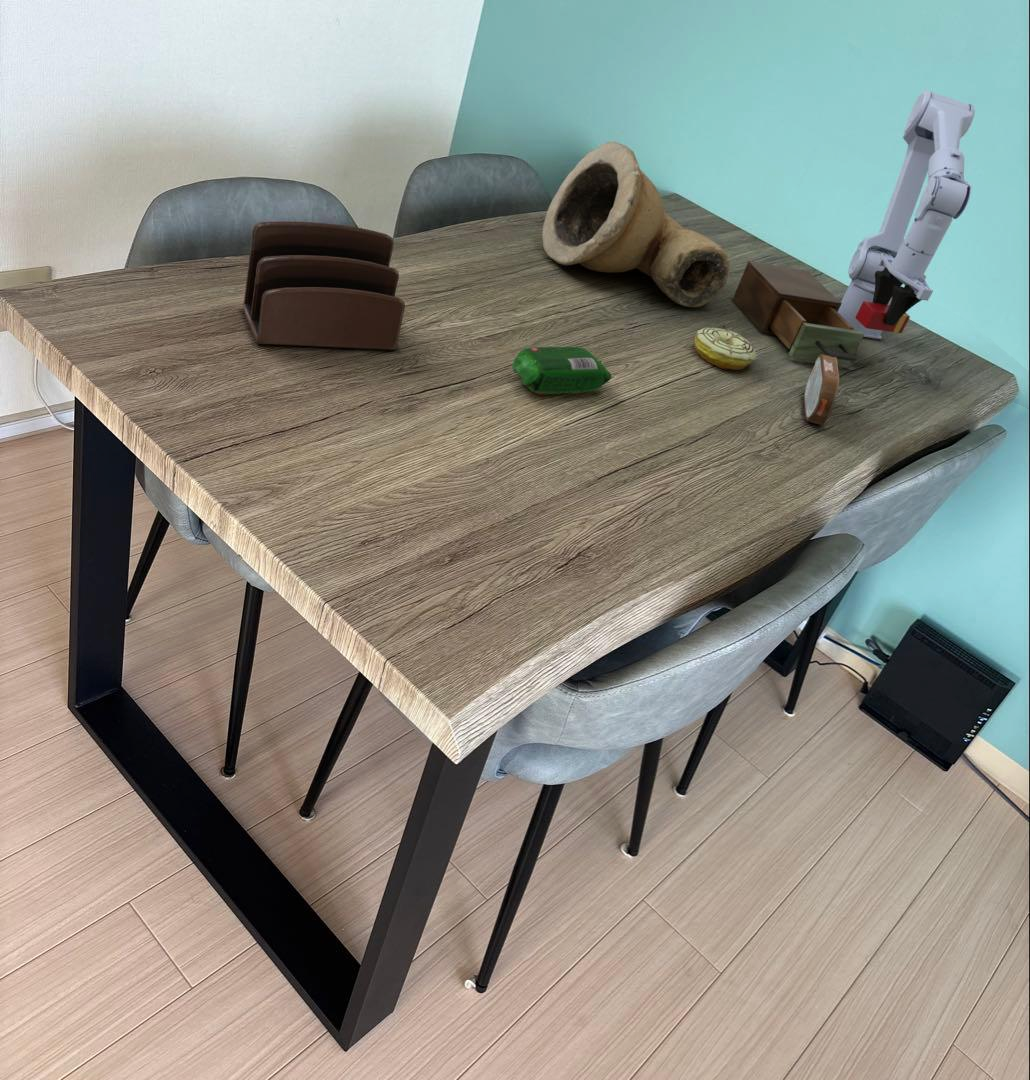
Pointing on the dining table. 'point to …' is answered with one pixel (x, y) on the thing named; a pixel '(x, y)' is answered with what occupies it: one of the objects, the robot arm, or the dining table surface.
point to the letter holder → (322, 286)
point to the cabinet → (777, 292)
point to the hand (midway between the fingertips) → (882, 318)
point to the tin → (821, 389)
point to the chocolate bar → (879, 317)
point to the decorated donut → (724, 348)
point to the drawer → (815, 331)
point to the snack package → (560, 370)
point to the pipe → (629, 229)
